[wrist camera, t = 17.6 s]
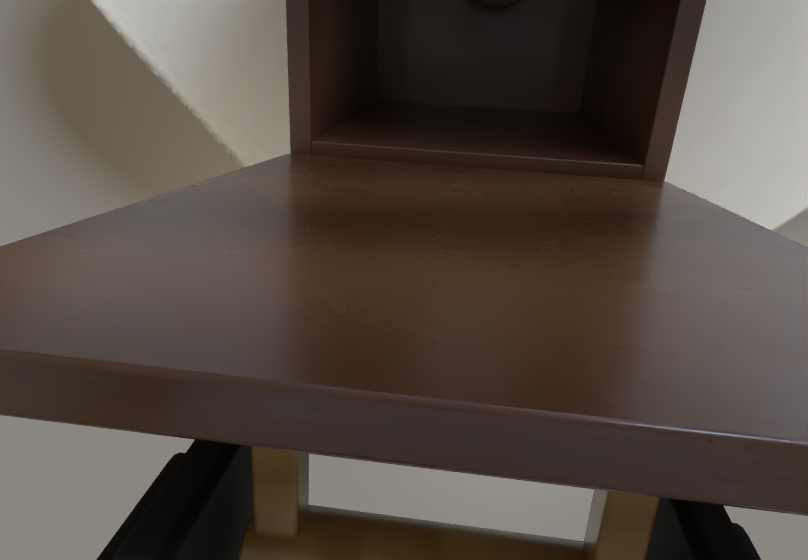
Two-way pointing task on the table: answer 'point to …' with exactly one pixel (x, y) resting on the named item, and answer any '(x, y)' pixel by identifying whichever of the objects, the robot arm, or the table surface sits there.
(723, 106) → the table surface
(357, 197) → the chest lid
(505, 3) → the energy drink can
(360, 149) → the chest
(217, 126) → the table surface
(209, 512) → the robot arm
